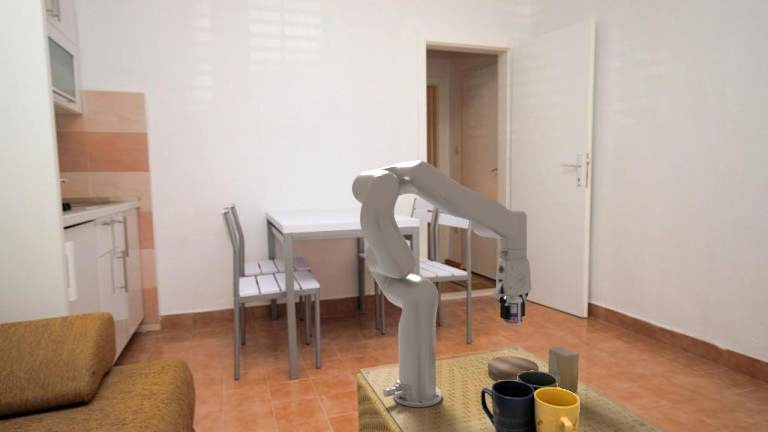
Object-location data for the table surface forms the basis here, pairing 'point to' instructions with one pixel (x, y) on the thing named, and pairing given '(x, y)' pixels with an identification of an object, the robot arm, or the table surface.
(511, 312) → the pill bottle
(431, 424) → the table surface
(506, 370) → the walnut base
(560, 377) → the skincare box
